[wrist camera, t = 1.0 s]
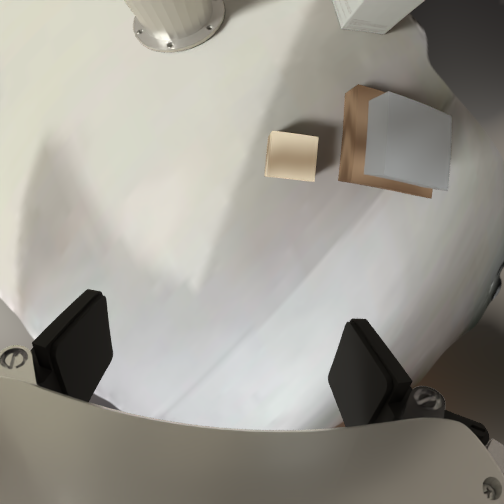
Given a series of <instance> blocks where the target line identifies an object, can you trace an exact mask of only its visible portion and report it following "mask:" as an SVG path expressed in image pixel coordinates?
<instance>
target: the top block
mask: <svg viewBox="0 0 504 504" xmlns="http://www.w3.org/2000/svg"><path fill="white" fill-rule="evenodd" d="M451 138H452V116H451V115H448V114H446V113H444V112H442V111H439V110H437V109H435V108H432V107H430V106H428V105H425V104H423V103H420V102H418V101H415V100H412V99H410V98H407V97H404V96H401V95H398V94H395V93H393V92H390V91H388V92H386V93H384V94H382V95H380V96H378V97H376V98H374V99H372V100H370V101H369V108H368V128H367V143H366V155H365V166H364V174H365V175H370V176H375V177H380V178H385V179H390V180H394V181H399V182H403V183H408V184H412V185H416V186H420V187H424V188H431V189H438V190H444V191H448V183H449V173H450V160H451Z"/></svg>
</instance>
